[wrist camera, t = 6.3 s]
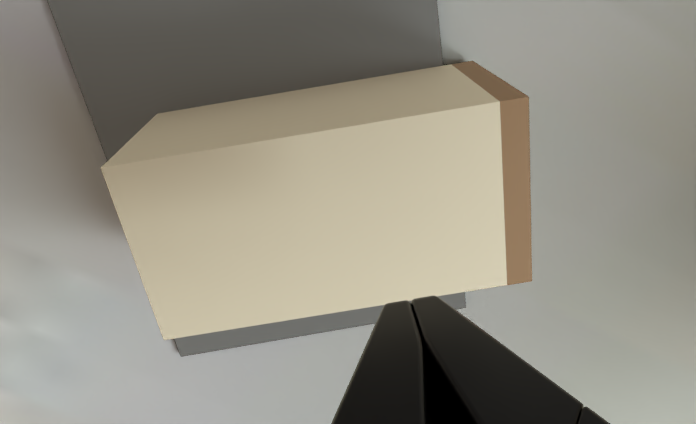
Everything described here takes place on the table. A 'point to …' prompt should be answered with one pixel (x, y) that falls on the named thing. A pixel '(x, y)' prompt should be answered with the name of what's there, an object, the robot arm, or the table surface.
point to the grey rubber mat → (237, 78)
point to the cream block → (328, 198)
